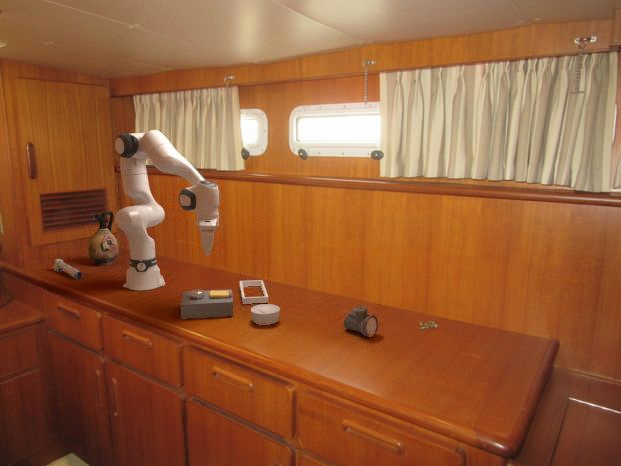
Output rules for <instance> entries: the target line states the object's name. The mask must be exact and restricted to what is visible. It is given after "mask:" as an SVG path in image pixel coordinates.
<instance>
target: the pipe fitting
mask: <svg viewBox="0 0 621 466" xmlns="http://www.w3.org/2000/svg"><path fill="white" fill-rule="evenodd" d="M343 327H344V329H346V328H347V329H346V330H348V329H350V330H349V331H352V330H353V331H352V332H356V331H357V333H361V334H362V335H363V336H364V337H365V336H367V337H366V338H369V335H371V334H373V333H374V332H377V333H378V329H379V320H378V317H377V316H376V315H373V314H368V307H367V306H365V305H362V306H360V305H359V306H356V307H354V308H353V310H351V311H349V312H348V314H346V315H345V316H344V319H343Z"/></svg>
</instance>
